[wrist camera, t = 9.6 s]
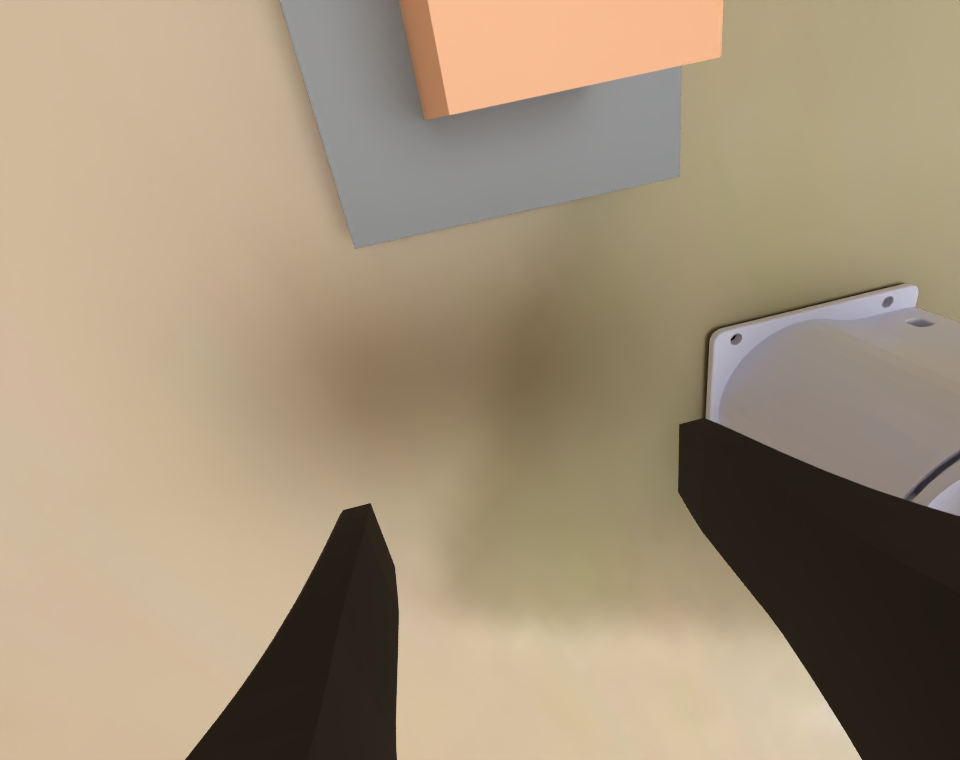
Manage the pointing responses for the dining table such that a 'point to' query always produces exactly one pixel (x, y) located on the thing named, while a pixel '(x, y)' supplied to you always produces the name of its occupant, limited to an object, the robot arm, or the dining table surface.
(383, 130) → the slate base
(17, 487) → the dining table surface
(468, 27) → the terracotta block
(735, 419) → the robot arm
